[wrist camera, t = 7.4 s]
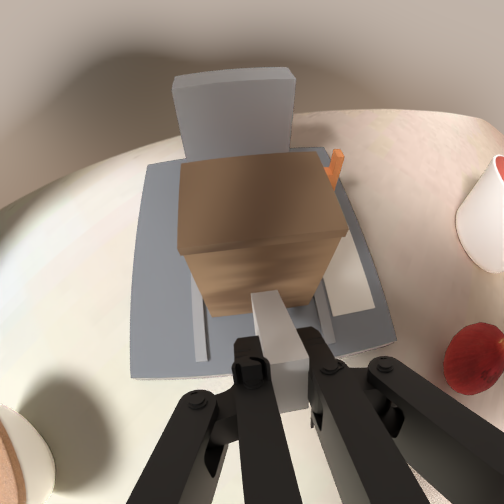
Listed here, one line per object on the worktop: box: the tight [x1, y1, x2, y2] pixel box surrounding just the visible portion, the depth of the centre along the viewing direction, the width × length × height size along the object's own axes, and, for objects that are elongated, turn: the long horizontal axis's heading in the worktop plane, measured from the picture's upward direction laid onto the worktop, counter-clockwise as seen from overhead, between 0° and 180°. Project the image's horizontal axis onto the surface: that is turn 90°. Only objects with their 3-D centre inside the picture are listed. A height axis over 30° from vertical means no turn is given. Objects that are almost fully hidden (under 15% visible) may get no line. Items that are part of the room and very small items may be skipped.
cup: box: [456, 155, 504, 273], centre depth 20 cm, size 10×10×10 cm
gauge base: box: [130, 67, 397, 380], centre depth 19 cm, size 20×22×12 cm
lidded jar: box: [0, 404, 56, 504], centre depth 9 cm, size 11×11×9 cm
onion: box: [443, 322, 504, 395], centre depth 14 cm, size 6×6×8 cm
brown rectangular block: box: [177, 151, 349, 317], centre depth 16 cm, size 7×5×10 cm
